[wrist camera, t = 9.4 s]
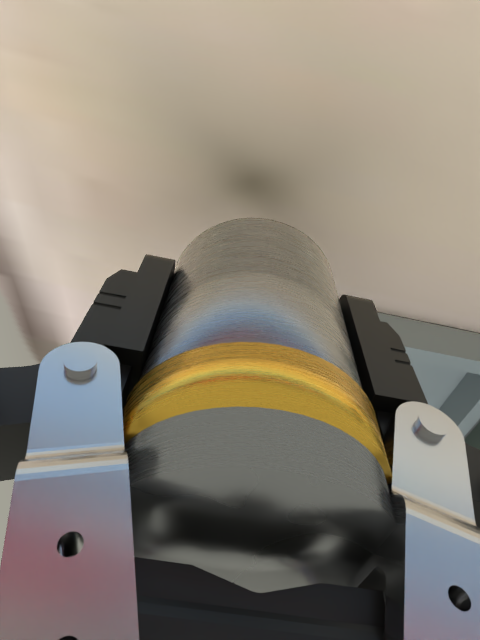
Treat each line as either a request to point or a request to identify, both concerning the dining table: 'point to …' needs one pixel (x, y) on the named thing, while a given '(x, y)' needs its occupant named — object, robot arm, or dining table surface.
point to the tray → (443, 366)
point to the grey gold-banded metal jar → (255, 419)
